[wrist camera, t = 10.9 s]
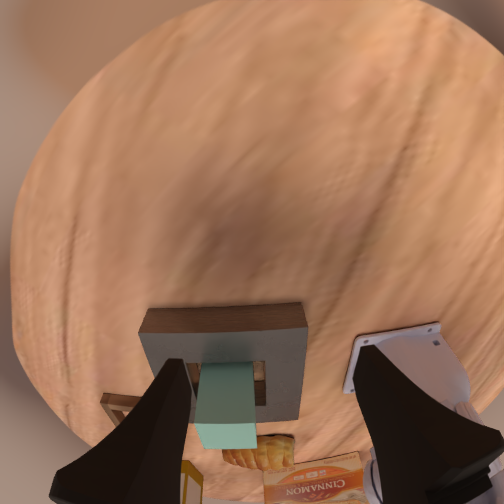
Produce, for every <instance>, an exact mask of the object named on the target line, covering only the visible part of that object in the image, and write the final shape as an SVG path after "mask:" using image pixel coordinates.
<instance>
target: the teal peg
mask: <svg viewBox="0 0 504 504" xmlns="http://www.w3.org/2000/svg"><path fill="white" fill-rule="evenodd" d="M194 424H195V427H196V430H197V432H198V435H199V437H200V440H201V442H202V445H203V447H204V449H252V448H257V436H256V414H255V393H254V372H253V361H251V362H224V363H202V365H201V373H200V380H199V388H198V396H197V404H196V412H195V420H194Z"/></svg>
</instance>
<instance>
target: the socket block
mask: <svg viewBox="0 0 504 504" xmlns="http://www.w3.org/2000/svg"><path fill="white" fill-rule="evenodd" d="M138 334H139V337H140V340H141V343H142V346H143V348H144V351H145V354H146V357H147V359H148V362H149V365H150V367H151V370H152V372H153V375H154V377H156V376H157V374H158V373H159V371H160V369H161V368H162V366H163V365H164V363H165V361H166V360H167V359H168V358H182V359H183V361H184V365H185V368H186V372H187V375H188V379H189V382H190V385H191V389H192V396H191V411H190V417H189V422H188V423H194V420H195V412H196V404H197V396H198V388H199V380H200V375H199V371H198V367H197V363H224V362H251V361H264V381H254V393H255V414H256V423H264V422H278V421H290V420H298V417H299V409H300V401H301V393H302V385H303V376H304V367H305V357H306V347H307V336H308V325H307V321H306V318H305V314H304V311H303V307H302V304H301V303H288V304H273V305H256V306H236V307H212V308H175V309H148V310H147V313H146V315H145V317H144V320H143V322H142V325H141V327H140V329H139V332H138Z"/></svg>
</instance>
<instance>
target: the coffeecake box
mask: <svg viewBox="0 0 504 504" xmlns="http://www.w3.org/2000/svg"><path fill="white" fill-rule="evenodd" d="M363 474H364V473H363V469H362V465H361V461H360V458H359V454H358V451H357V452H353V453H349V454H345V455H341V456H336V457H332V458H327V459H322V460H317V461H311V462H305V463H299V464H294V465H293V467H292V468H286V467H282V468H281V469H280V470H272V469H269V470H267V471H263V484H264V504H370V503H369V502H368V500H367V497H366V495H365V492H364V488H363Z"/></svg>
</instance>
